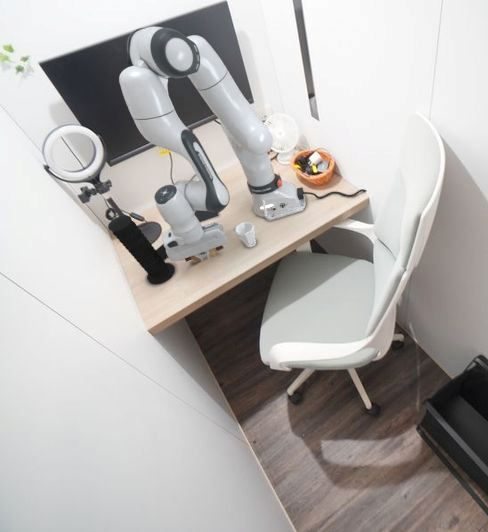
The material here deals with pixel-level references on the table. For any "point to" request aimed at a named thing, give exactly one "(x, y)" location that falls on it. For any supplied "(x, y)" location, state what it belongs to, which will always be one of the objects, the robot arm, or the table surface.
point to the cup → (246, 233)
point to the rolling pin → (211, 253)
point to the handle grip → (141, 249)
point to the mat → (204, 215)
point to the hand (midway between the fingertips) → (206, 258)
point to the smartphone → (162, 252)
